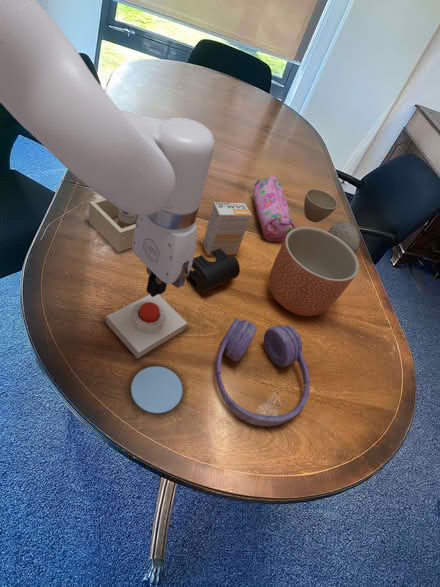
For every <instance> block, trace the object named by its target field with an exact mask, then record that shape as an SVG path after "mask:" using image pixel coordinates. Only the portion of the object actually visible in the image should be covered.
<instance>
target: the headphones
mask: <svg viewBox="0 0 440 587" xmlns="http://www.w3.org/2000/svg"><path fill="white" fill-rule="evenodd" d="M257 331H258V327H257V325H256V324H255V323H254V322H250V321H249V320H247V319H243V320H241V319H239V318H237V317H235V318H234V320H233V321H232V323H231V325H230V326H229V328H228V329H227V331H226V333H225V335H224V337H223V338H222V340H221V342H220V343H219V349H218V352H217V355H216V359H215V364H214V375H215V380H216V386H217V388H218V392H219V394H220V396H221V398H222V400H223V402H224V404H225V405H226V406H227V407H228V408H229V410H230V411H231V412H232V413H233V414H234V415H235V416H237V417H238V418H239V419H241V420H242V421H244V422H246V423H248V424H250V425H254V426H256V427H257V426H259V427H275V426H279V425H283V424H284V423H286V422H288V421H290V420H291V419H293V418H294V417H296V416H297V415H298V414H299V413H300V412H301V411H302V410H303V409H304V408H305V406H306V403H307V402H308V399H309V396H310V382H311V380H310V379H311V378H310V373H309V368H308V366H307V365H308V364H307V362H306V360H305V357H304V355H303V341H302V338H301V335H300V333H299V332H298V331H297V329H296V328H295V327H293V326H292V325H289V324H286V325H284V324H278V325H273V326H270V327H268V328H267V329H266V331H265V333H264V334H263V344H264V350H265V352H266V354H267V356H268V358H269V359H270V361H272V362H273V363H274V364H275V365H276V366H278V367H288V366H290V365H291V364H292V363H294V362H297V364H298V367H299V369H300V373H301V377H302V384H303V385H304V387H303V391H302V396H301V399H300V400H299V402H298V404H297V405H296V406H295V407H294V408H293V409H291V411H288V412H286V413H284V414H280V415H264V414H258V413H255V412H252V411H250V410H247V409H245V408H244V407H242V406H240V405H239V404H238V403H236V401H235V400H233V398H232V397H231V396H230V395H229V393H228V392H227V390H226V388H225V386H224V384H223V380H222V377H221V372H222V370H221V368H222V358H223V354H224V355H225V356H226V357H228V358H229V359H230V360H231V361H233V362H238V361H240V360H241V358H242V357H243V355H244V354H245V352H246V351H247V349H248V347H249V346H250V344H251V342H252V340H253V338H254V336H255V335H256V332H257Z"/></svg>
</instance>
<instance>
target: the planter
mask: <svg viewBox="0 0 440 587" xmlns="http://www.w3.org/2000/svg"><path fill="white" fill-rule="evenodd" d="M271 266H272V267H271V270H270V273H269V276H268V286H269V291H270V293H271V294H272V297H273V298H274V300H275V301H276V302H277V304H279V305H280V306H281V307H282V308H283V309H285V310H286V311H287V312H289V313H291V314H294V315H298V316H303V317H313V316H317V315H321V314H322V313H324V312H326V311H327V310H328V309H329V308H331V307H332V306H333V305H334V304H335V303H336V302H337V300H338V299H339V298H340V297H341V296H342V294H343V293H344V291H345V290H346V289H347V288H348V287H349V285H350V284H351V283H352V282H353V281H354V279H355V278H356V276H357V275H358V274H359V270H360V263H359V259H358V258H357V255H356V254H354V252H353V251H352V250H351V248H350V247H349V246H348V245H347V244H346V243H345V242H343V241H342V240H341V239H339V238H338V237H336V236H335V235H333V234H331V233H329V232H328V231H327V230H324V229H321V228H318V227H313V226H298V227H295V229H293V230H291V231H290V232H289V233H288V234H287V236H286V238H285V240H283V242H282V244H281V246H280V248H279V250H278V252H277V255H276V257H275V259H274V262H273V264H272V265H271Z"/></svg>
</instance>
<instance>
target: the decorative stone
mask: <svg viewBox="0 0 440 587" xmlns="http://www.w3.org/2000/svg"><path fill="white" fill-rule="evenodd" d="M327 232H329V233H331V234H333V235H335V236H336V237H338V238H339V239H341V240H342V241H343V242H345V243H346V244H347V245H348V246H349V247H350V248H351V250H352V251H353V252H354V254H355V255H356V254H357V253H358V250H359V248H360V234H359V230H358V229H357V227H356V226H355V225H354V224H352V223H351V222H347V221H341V222H338V223H334V224H333V225H332V226H330V228H329V229H328V230H327Z"/></svg>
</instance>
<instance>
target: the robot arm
mask: <svg viewBox="0 0 440 587" xmlns="http://www.w3.org/2000/svg"><path fill="white" fill-rule="evenodd" d="M0 104H1V105H2V106H3V107H4V108H5V109H6V111H7V112H8V113H9V114H10V115H11V116H12V117H13V118H14V119H15V120H16V121H17V122H18V123H19V124H20V125H21V126H22V127H23V128H24V129H26V131H27V132H28V133H30V134H31V135H32V136H33V137H34V138H35V139H36V140H37V141H38V142H39V143H41V145H42V146H43V147H44V148H46V149H47V150H48V152H50V154H51V155H52V156H54V157H55V159H57V160H58V161H59V162H60V163H61V164H62V165H63V166H64V167H65V168H66V169H67V170H68V171H69V172H71V174H73V175H74V176H75V177H76V178H78V180H80V181H81V182H82V183H83V184H84V185H86V186H87V187H88V188H90V189H91V190H92V191H94V192H95V193H96V194H98V195H99V196H100V197H102V198H105V199H106V200H107V201H109V202H110V203H112V204H113V205H114V206H116V207H117V208H119V209H121V210H123V211H125V212H128V213H131V214H135V215H138V216H137V220H136V226H135V231H134V236H133V243H132V252H133V253H134V255H135V256H136V257H137V258H138V259H139V260H140V261H141V262H142V263H143V264H144V265H145V267H146V274H147V275H148V277H147V278H148V279H147V285H146V292H147V293H148V294H150V295H151V296H152V297H154V296H156V295H158V294H159V295H162V294H164V293H165V291H166V290H167V286H168V285H172V286H174V287H175V288H177V289H179V288H181V287H183V286H185V278H186V277H185V276H188V274H189V272H190V269H191V270H192V267H191V266H192V263H193V258H195V253H196V247H197V234H198V233H197V232H198V231H197V230H198V228H197V224H196V221H197V217H198V212H199V210H200V205H201V201H202V198H203V193H204V189H205V185H206V181H207V177H208V174H209V170H210V166H211V162H212V158H213V155H214V149H215V138H214V135H213V133H212V132H211V130H210V129H209V128H208V127H207V126H205V125H204V124H202V123H201V122H199V121H196V120H194V119H191V118H187V117H180V116H179V117H170V118H166V119H165V118H158V117H154V116H149V115H143V114H139V113H135V112H130V111H125V110H120V108H118V106H117V105H116V104H115V103H114V101H113V100H112V99H111V97H110V96H109V95H108V93H107V92H106V91H105V90H104V88H103V87H102V86H101V84H100V82H98V80H97V79H96V77H95V76H94V74H93V73H92V72H91V70H90V69H89V67H88V66H87V64H86V63H85V61H84V60H83V58H82V57H81V55H80V53H79V51H78V50H77V49H76V48H75V46H74V44H73V43H72V42H71V40H69V38H68V37H67V35H66V34H65V33H64V31H63V30H62V29H61V28H60V27H59V25H58V23H56V21H55V20H54V19H53V18H52V17H51V15H50V14H49V13H48V12H47V11H46V10H45V9H44V8H43V7H42V6H41V4H39V2H37V0H0Z"/></svg>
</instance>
